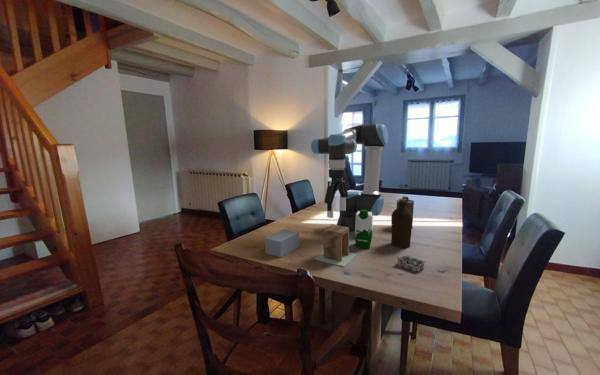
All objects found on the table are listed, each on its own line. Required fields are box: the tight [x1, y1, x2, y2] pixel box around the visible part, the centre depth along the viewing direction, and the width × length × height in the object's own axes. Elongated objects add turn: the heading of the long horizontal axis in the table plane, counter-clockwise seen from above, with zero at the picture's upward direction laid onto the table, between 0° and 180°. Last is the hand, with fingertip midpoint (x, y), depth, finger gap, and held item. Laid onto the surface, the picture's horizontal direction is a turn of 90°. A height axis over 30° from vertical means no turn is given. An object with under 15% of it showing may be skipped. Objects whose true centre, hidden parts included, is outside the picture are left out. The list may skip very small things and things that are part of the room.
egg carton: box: [396, 254, 426, 273], centre depth 119 cm, size 11×8×4 cm
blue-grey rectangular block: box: [264, 228, 300, 258], centre depth 139 cm, size 10×16×8 cm, turn 147°
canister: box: [396, 195, 415, 229], centre depth 171 cm, size 11×10×20 cm
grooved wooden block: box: [323, 224, 350, 262], centre depth 129 cm, size 16×9×16 cm
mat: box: [314, 251, 358, 268], centre depth 130 cm, size 15×15×1 cm
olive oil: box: [390, 198, 414, 249], centre depth 142 cm, size 11×11×25 cm
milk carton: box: [354, 209, 374, 250], centre depth 142 cm, size 9×9×20 cm
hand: (336, 213), depth 126 cm, fingers open, 13 cm apart
